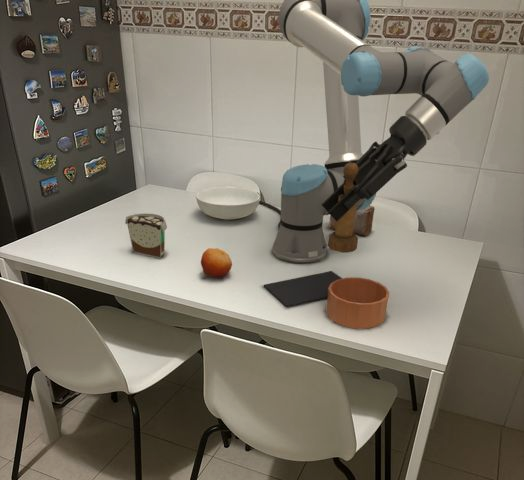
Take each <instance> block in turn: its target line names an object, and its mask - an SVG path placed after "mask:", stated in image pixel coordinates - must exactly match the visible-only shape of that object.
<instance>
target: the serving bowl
mask: <svg viewBox="0 0 524 480" xmlns="http://www.w3.org/2000/svg"><path fill="white" fill-rule="evenodd" d="M195 199H196V204H197V206H198V208H199V209H200V210H201V211H202V212H203V213H204V214H205V215H207V216H209V217H212V218H214V219H218V220H219V219H220V220H226V221H227V220H228V221H229V220H232V221H233V220H238V219H244V218H247V217H248V216H250V215H251V214H253V213H254V212H255V211H256V210H257V209H258V207H259V204H260V203H259V201H261V194H260V193H259V194H258V193H257V191H255V190H252V189H250V188H245V187H239V186H212V187H208V188H204V189H202V190H199V191H198V192H197V193H196V194H195Z"/></svg>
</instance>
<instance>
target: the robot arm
mask: <svg viewBox="0 0 524 480" xmlns="http://www.w3.org/2000/svg"><path fill="white" fill-rule="evenodd" d="M371 17H372V16H371V9H370V4H369V1H368V0H283V1H282V4H281V6H280V8H279V12H278V26H279V29H280V32H281V34H282V36H283V37H284V38H285V39H286V40H287V41H288V42H289V43H291V45H293V46H295V47H297V48H305V49H306V50H307V51H308V52H310V53H311V54H313V56H315V57H316V58H318V59H319V60H320V61H321V62H322V66H323V67H322V68H323V81H324V97H325V98H324V99H325V109H326V110H325V113H326V127H327V141H328V156H329V157H328V158H327V160H325V162H324V165H322V164H317V163H316V164H315V163H314V164H308V163H307V164H300V165H295V166H292V167H290V168H288V169H287V170H286V171H285V172H284V173H283V175H282V180H281V187H280V193H281V194H280V196H281V197H280V208H278V207H276V206H274V205H272V204H270V203H267V202H265V201H262V200H260V201H259V204H261V205H262V206H265V207H268V208H271V209H273V210H274V211H276V212H278V213H279V214H280V221H279V222H278V224H277V227H278V231H277V233H276V236H275V238H274V241H273V245H272V254H273V256H275V258H277V259H279V260H281V261H284V262H287V263H292V264H311V263H316V262H319V261H322V260H324V259H325V258H326V257H327V253H328V252H327V251H328V245H327V242H326V238H325V234H324V230H323V223H324V216H330V215H331V216H332V217H333V218H334V219H335V220H336V221H338V220H339V219H340V218H341V217H342V216H343V215H344V214H345V213H346V212H347V211H348V210H349V209H351V208H352V207H353V206H354V205H355V204H356V203H357V206H356V211H358V210H363V209H366V208H367V207H369V206H372V204H373V202H374V200H375V198H376V196H377V193H378V192H379V191H380V190H381V189H382V188H383V187H384V186H385V185H386V184H387V183H389V182H390V181H391V180H392V179H393V178H394V177H395V176H396V175H397V174H399V173H400V172H402V171H403V170H405V169H406V168H407V167H408V164H407V162H406V161H405V159H406V157H407V156H408V155H409V156H411V157H415V156H416V155H417V154H418V153H419V152H420V151H422V149H423V148H424V147H426V145H427V143H428V141H431V140H432V139H433V138H434V137H435V136H436V135H439V134H440V132H441V131H442V129H444V128H445V127H446V126H447V125H448V124H449V123H450V122H451V121H452V120H453V119H455V117H456V116H457V115H458V114H460V113H461V112H462V111H463V110H464V109H465V108H466V107H468V105H469V104H471V102H473V101H474V100H475V99H476V98H477V96H478V95H479V94H481V92H482V91H483V90H484V89H485V88H486V87H487V86H488V84H489V81H490V75H489V73H488V70H487V68H486V66H485V65H484V64H483V62H482V61H481V60H480V59H479V58H478V57H476V56H475V55H474V54H472V53H466V54H463V55H461V56H459V58H458V59H456V60H455V61H454V62H452V61H449V60H447V59H445V58H444V57H442V56H440V55H438V54H436V53H435V52H434V51H432V50H431V49H429V48H427V47H422V46H419V45H415V46H411V47H409V48H407V49H405V50H404V51H397V52H396V51H395V52H394V51H380V50H378V49H376V48H374V47H373V46H371V45H370V44H368V43H367V42H365V41H364V40H365V39H366V37H368V34H369V31H370V30H369V27H370V26H371ZM407 94H417V95H419V96H420V97H418V98H417V99H416V100H415V101H414V103H412V104H411V106H410V107H408V108H407V109H406V111H405V112H404V115H401V116H400V117H399V118H398V119H397V120H395V121H394V123H392V124H391V126H390V127H389V129H388V131H389V134H390V137H388V138H387V139H385V140H384V141H382V143H380V144H379V143H378V142H377V141H374V142H373V143H372V144H371V145H370V147H369V148H368V149H367V150H366V152H365V153H364V154H363V153H362V140H361V122H360V121H361V120H360V119H361V117H360V97H368V96H369V97H370V96H384V95H407ZM347 163H355V164H356V165H357V166H358V174H357V175H356V177H355V178H354V180H353V185H354V186H353V187H352V189H353V190H354V191H353V190H352V189H351V190H350V191H349V192H348V193H347V194H346V195H345V196H344V197H343V198H342V199H341V200H340V201H339V202H338V199H339V195H343V194H344V185H345V184H346V178H345V175H344V172H343V169H344V167H345V165H346V164H347ZM256 192H257V191H256ZM257 193H258V192H257ZM258 194H259V195H260V192H259V193H258Z"/></svg>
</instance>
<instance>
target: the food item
mask: <svg viewBox="0 0 524 480" xmlns="http://www.w3.org/2000/svg"><path fill="white" fill-rule="evenodd" d="M374 214H375V206H373V205H370V206H369V207H367V208H366V209H363V210H358V211H356V213H355V220H354V227H353V233H354V234H355V235H360V236H367V235H369V234H370V233H371V232H372V229H373V221H374ZM335 226H336V220H335V219H334V218H333V217H332V216H331V215H329V224H328V228H329V229H332V230H335Z"/></svg>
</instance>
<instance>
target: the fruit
mask: <svg viewBox="0 0 524 480" xmlns="http://www.w3.org/2000/svg"><path fill="white" fill-rule="evenodd" d="M200 266H201V268H202V271H203V274H204V276H203V277H202V278H203V279H204V280H205V278H207V277H210V278H213V279H223V278H225V277H226V276H227V275H228V274H229V272H230V271H231V269H232V266H233V261H232V259H231V257H230V255H229V254H228V253H227V252H226V251H225V250H222V249H220V248H218V247H217V248H216V247H215V248H214V247H212V248H211V247H209V248H206V249H205V251H203V252H202V256H201V259H200Z"/></svg>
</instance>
